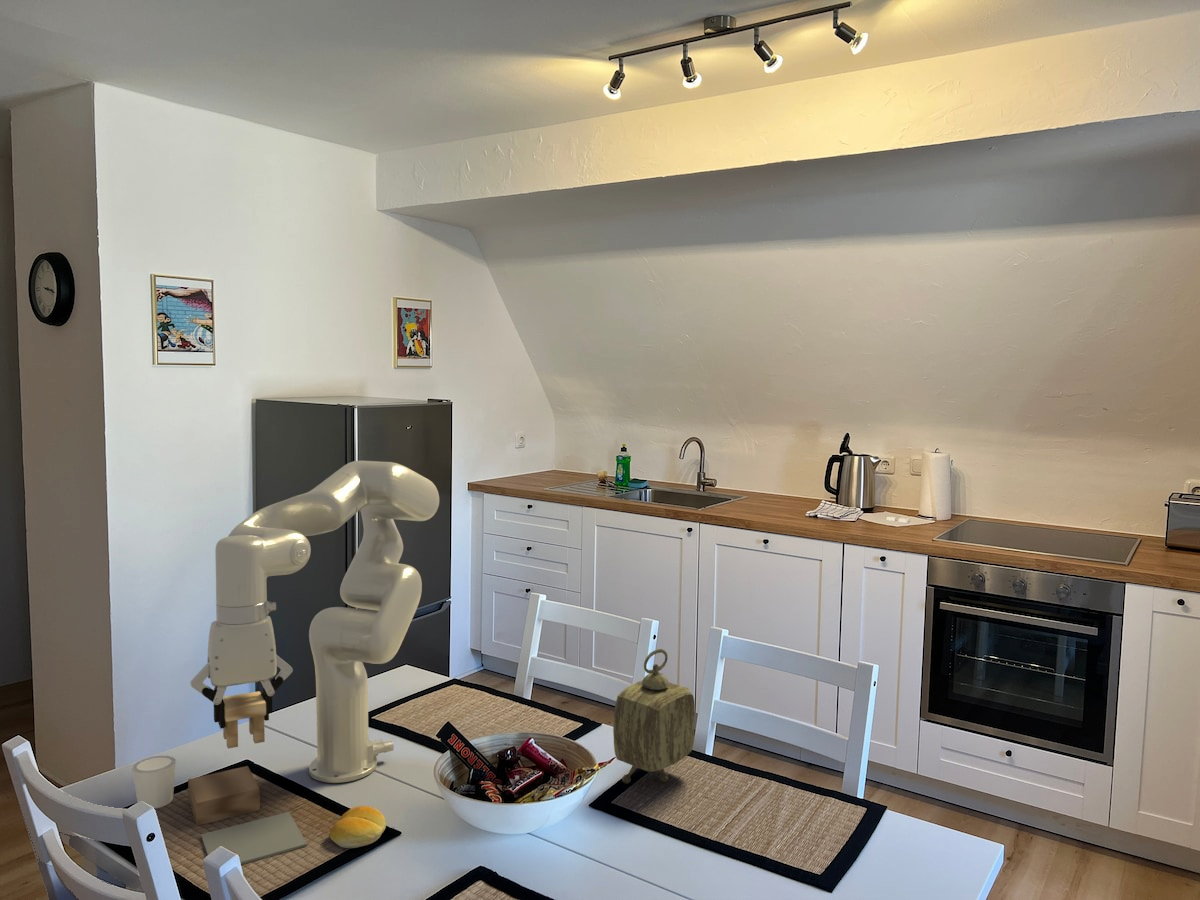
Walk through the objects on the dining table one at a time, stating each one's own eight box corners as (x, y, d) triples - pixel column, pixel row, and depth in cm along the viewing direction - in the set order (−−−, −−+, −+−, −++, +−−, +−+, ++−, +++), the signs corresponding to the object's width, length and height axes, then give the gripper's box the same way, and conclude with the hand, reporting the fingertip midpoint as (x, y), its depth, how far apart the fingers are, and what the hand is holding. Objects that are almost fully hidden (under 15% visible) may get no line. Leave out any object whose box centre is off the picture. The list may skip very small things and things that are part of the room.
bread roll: (322, 848, 140) (321, 824, 139) (348, 819, 149) (348, 797, 148) (370, 853, 138) (369, 829, 138) (393, 824, 147) (393, 802, 147)
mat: (289, 813, 150) (288, 811, 150) (307, 846, 140) (306, 843, 140) (201, 836, 142) (201, 834, 142) (213, 872, 132) (213, 870, 132)
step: (248, 786, 160) (247, 765, 159) (259, 810, 151) (259, 788, 151) (188, 800, 154) (188, 779, 154) (197, 825, 146) (196, 803, 145)
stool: (260, 729, 145) (259, 691, 144) (266, 742, 140) (265, 702, 139) (221, 735, 142) (220, 697, 141) (226, 749, 137) (225, 709, 136)
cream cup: (159, 813, 150) (157, 774, 149) (124, 808, 151) (123, 770, 151) (185, 794, 157) (184, 757, 156) (152, 790, 158) (150, 753, 157)
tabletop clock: (659, 758, 173) (661, 636, 170) (696, 773, 167) (699, 646, 164) (612, 784, 162) (614, 654, 160) (650, 800, 156) (653, 665, 154)
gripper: (292, 601, 147) (293, 704, 148) (180, 613, 138) (182, 723, 139) (302, 611, 140) (303, 719, 142) (185, 625, 132) (187, 740, 133)
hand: (243, 720), depth 141 cm, fingers closed on stool, 6 cm apart
